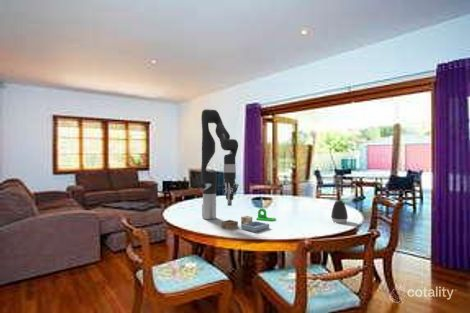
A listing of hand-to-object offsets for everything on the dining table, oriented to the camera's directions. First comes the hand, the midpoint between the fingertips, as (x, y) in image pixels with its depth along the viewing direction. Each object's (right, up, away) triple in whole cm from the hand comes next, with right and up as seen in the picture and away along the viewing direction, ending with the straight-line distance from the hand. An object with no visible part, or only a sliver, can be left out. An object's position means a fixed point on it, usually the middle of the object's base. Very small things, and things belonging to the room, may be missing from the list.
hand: (229, 199), depth 180 cm
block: (+11, -18, +5) cm, 21 cm away
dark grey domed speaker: (+72, -18, +14) cm, 76 cm away
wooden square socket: (0, -17, 0) cm, 17 cm away
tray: (+16, -17, -3) cm, 24 cm away
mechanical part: (+24, -18, +20) cm, 37 cm away
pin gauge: (0, -4, 0) cm, 4 cm away
